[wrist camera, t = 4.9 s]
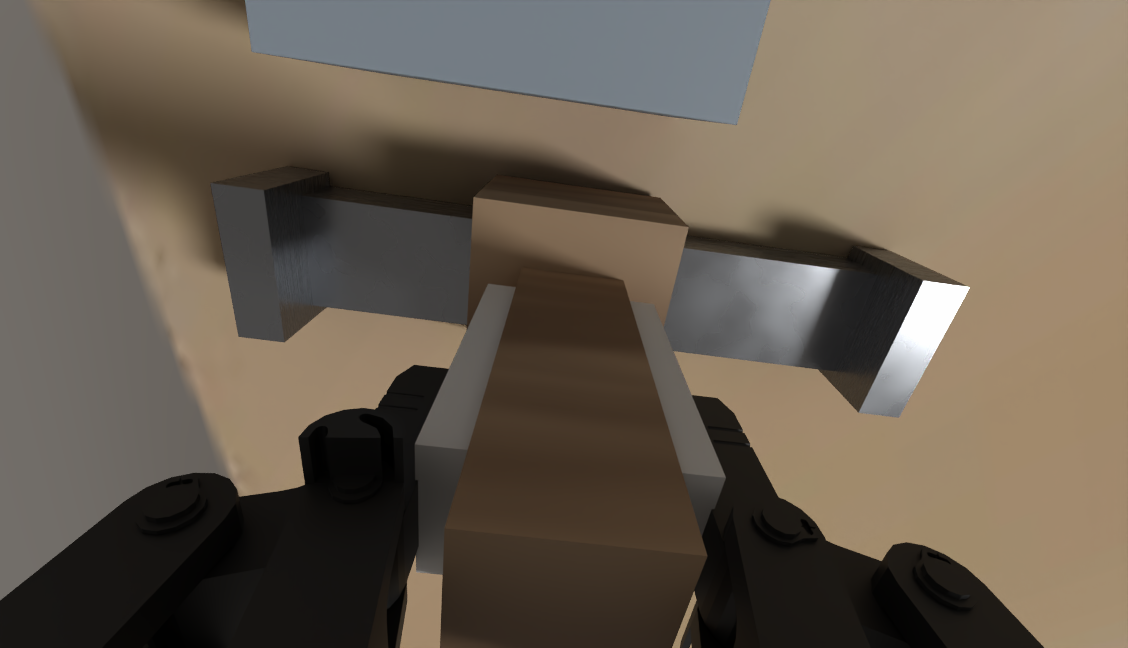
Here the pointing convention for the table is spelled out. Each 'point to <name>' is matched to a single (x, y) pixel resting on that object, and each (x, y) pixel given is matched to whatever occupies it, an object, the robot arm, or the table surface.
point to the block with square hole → (536, 47)
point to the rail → (696, 311)
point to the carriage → (570, 432)
